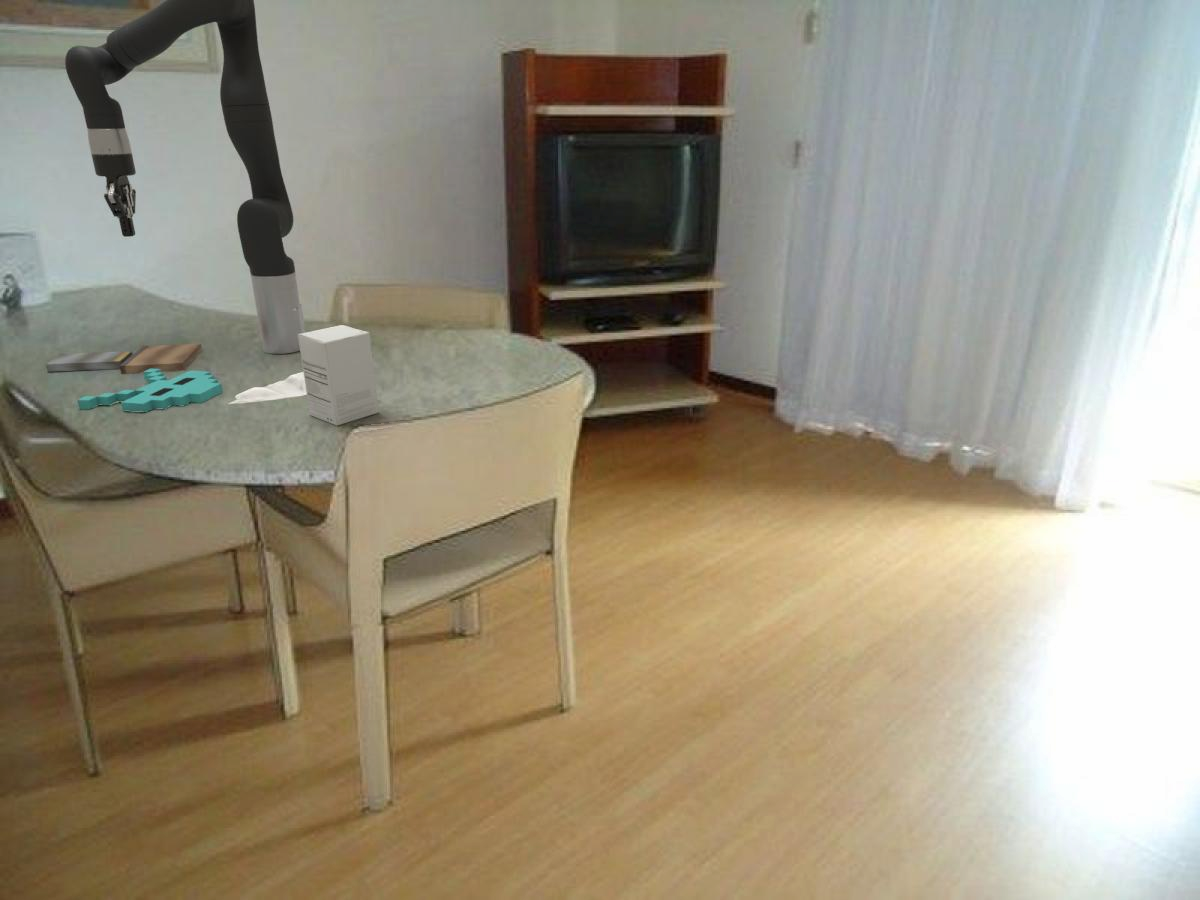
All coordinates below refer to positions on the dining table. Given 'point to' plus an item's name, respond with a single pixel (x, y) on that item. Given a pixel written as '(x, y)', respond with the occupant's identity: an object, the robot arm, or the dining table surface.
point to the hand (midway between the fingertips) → (129, 235)
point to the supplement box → (339, 374)
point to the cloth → (274, 390)
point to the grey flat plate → (88, 361)
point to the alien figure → (160, 392)
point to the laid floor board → (161, 358)
